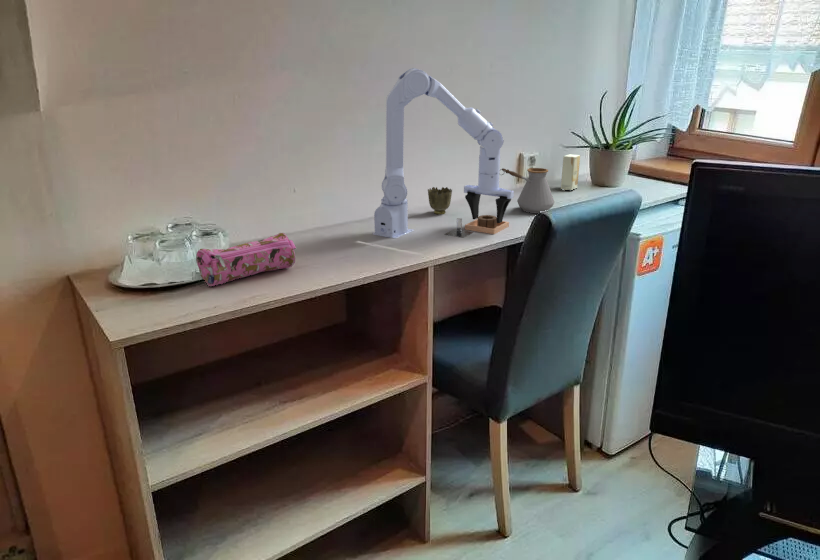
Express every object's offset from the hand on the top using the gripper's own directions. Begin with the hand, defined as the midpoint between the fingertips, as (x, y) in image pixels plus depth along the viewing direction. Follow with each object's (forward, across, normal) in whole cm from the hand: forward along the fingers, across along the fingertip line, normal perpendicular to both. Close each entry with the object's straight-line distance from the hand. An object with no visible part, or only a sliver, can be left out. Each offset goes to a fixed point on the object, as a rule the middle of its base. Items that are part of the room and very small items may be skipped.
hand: (487, 220), depth 175 cm
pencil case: (+3, +28, +63) cm, 69 cm away
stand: (+3, +4, +9) cm, 10 cm away
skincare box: (+3, -1, -62) cm, 62 cm away
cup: (+3, +20, -7) cm, 21 cm away
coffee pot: (+3, -1, -23) cm, 23 cm away
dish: (+3, 0, 0) cm, 3 cm away
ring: (+2, 0, 0) cm, 2 cm away
